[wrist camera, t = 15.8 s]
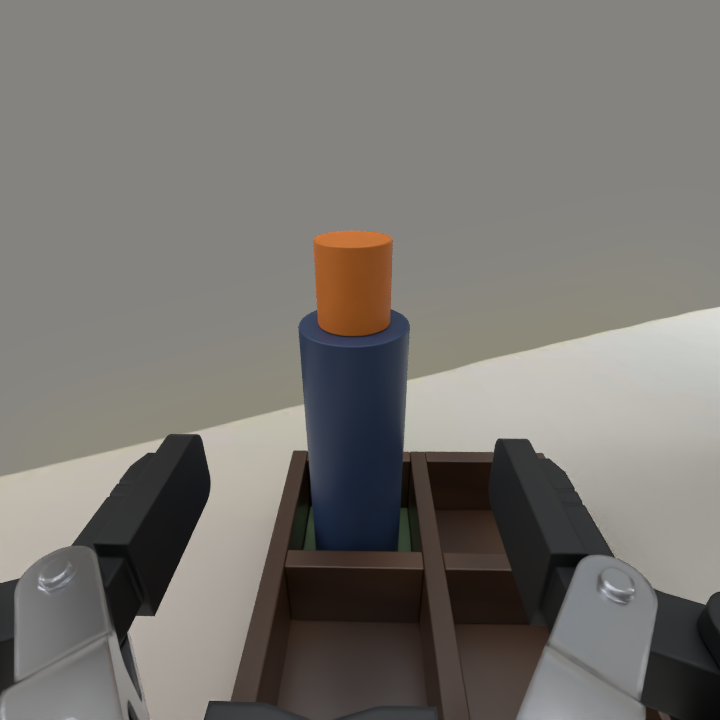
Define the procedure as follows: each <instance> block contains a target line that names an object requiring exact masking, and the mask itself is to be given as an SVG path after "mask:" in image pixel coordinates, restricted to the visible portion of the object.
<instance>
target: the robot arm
mask: <svg viewBox="0 0 720 720" xmlns="http://www.w3.org/2000/svg"><path fill="white" fill-rule="evenodd" d="M574 489H575V488H574V487H573V485H572V483H571V482H570V480H569V478H568V476H567V475H566V473H565V472H564V471H563V470H562V469H561V468H559V467H558V466H557V465H556V464H555V463H554V462H552V461H551V460H550V459H539V458H538V456H537V454H536V453H535V451H534V449H533V447H532V445H531V443H530V441H529V440H527V439H498V440H497V441H496V444H495V449H494V455H493V461H492V466H491V472H490V478H489V486H488V491H489V501H490V505H491V509H492V512H493V515H494V518H495V521H496V524H497V527H498V530H499V533H500V536H501V539H502V542H503V545H504V548H505V551H506V555H507V558H508V561H509V564H510V567H511V570H512V573H513V576H514V579H515V582H516V585H517V588H518V591H519V594H520V597H521V600H522V604H523V607H524V610H525V613H526V616H527V619H528V622H529V625H530V626H547V628H548V631H549V634H550V637H549V639H548V641H547V642H546V644H545V647H544V649H543V651H542V654H541V656H540V659H539V661H538V664H537V667H536V669H535V672H534V674H533V677H532V679H531V682H530V684H529V687H528V689H527V692H526V695H525V697H524V700H523V702H522V705H521V707H520V710H519V712H518V715H517V718H516V720H645V718H646V706H647V707H649V708H652V709H655V710H657V711H660V712H663V713H665V714H668V715H669V717H670V719H671V720H720V592H717V593H715V594H713V595H712V596H711V597H710V599H709V600H708V602H707V604H706V605H704V604H700V603H697V602H694V601H690V600H687V599H683V598H680V597H677V596H673V595H670V594H666V593H663V592H660V591H658V590H655V589H653V588H652V586H651V584H650V583H649V582H648V580H647V579H646V578H645V577H644V576H643V575H642V574H641V573H640V572H638V571H637V570H636V569H635V568H633V567H632V566H630V565H629V564H627V563H625V562H623V561H621V560H619V559H616V558H615V557H614V555H613V553H612V552H611V550H610V548H609V546H608V545H607V543H606V541H605V540H604V538H603V536H602V534H601V533H600V531H599V529H598V528H597V526H596V524H595V522H594V521H593V519H592V517H591V516H590V514H589V512H588V511H587V509H586V507H585V505H583V504H582V500H581V499H580V497H579V495H578V493H577V492H575V490H574ZM209 493H210V474H209V470H208V465H207V460H206V456H205V451H204V446H203V442H202V439H201V437H200V435H198V434H170V435H168V436H167V437H166V438H165V440H164V441H163V443H162V444H161V446H160V447H159V449H158V450H157V451H156V453H147V454H146V455H145V456H143V457H142V458H141V459H139V460H138V461H137V462H135V463H134V464H133V465H131V466H130V468H129V469H128V470H127V472H126V473H125V474H124V476H123V477H122V478H121V480H120V483H119V484H117V485H116V486H115V488H114V489H113V490H112V492H111V493H110V497H107V498H106V500H105V501H104V503H103V504H102V505H101V507H100V508H99V509H98V511H97V512H96V513H95V515H94V516H93V517H92V519H91V520H90V521H89V523H88V524H87V525H86V527H85V528H84V529H83V531H82V532H81V533H80V535H79V536H78V537H77V539H76V540H75V541H74V543H73V544H72V545H71V546H70V547H65V548H62V549H59V550H56V551H54V552H52V553H50V554H48V555H46V556H44V557H43V558H41V559H40V560H38V561H37V562H35V563H34V564H33V565H32V566H31V567H30V568H29V569H28V570H27V571H26V572H25V573H24V574H23V575H22V577H21V578H19V579H16V580H12V581H8V582H4V583H0V720H150V717H149V713H148V709H147V705H146V701H145V697H144V692H143V688H142V684H141V679H140V675H139V671H138V667H137V662H136V658H135V654H134V650H133V645H132V641H131V637H130V634H129V632H128V630H129V628H130V626H131V624H132V622H133V620H134V618H135V616H155V614H156V612H157V610H158V607H159V605H160V603H161V601H162V599H163V597H164V594H165V592H166V590H167V588H168V586H169V583H170V581H171V579H172V577H173V575H174V573H175V570H176V568H177V566H178V564H179V562H180V559H181V557H182V555H183V553H184V551H185V549H186V546H187V544H188V542H189V540H190V538H191V535H192V533H193V531H194V529H195V527H196V524H197V522H198V520H199V518H200V516H201V514H202V511H203V509H204V507H205V505H206V503H207V500H208V497H209ZM204 720H312V719H309V718H306V717H303V716H301V715H298V714H295V713H292V712H290V711H287V710H284V709H281V708H279V707H276V706H273V705H270V704H268V703H265V702H230V701H209V704H208V707H207V711H206V714H205V717H204ZM332 720H438V714H437V707H421V706H383V705H380V706H377V707H373V708H370V709H366V710H363V711H359V712H356V713H353V714H349V715H346V716H342V717H339V718H335V719H332Z"/></svg>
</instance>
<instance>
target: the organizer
mask: <svg viewBox="0 0 720 720" xmlns="http://www.w3.org/2000/svg"><path fill="white" fill-rule="evenodd" d="M536 454H537V456H538V458H539V459H546V458H545V456H544V455H543V453H536ZM493 455H494V452H410V453H409V452H403V466H402V486H401V505H400V524H399V544H398V552H385V551H323V550H316V546H315V533H314V521H313V508H312V495H311V482H310V469H309V456H308V451H293V454H292V458H291V462H290V466H289V470H288V474H287V478H286V482H285V486H284V490H283V494H282V498H281V502H280V506H279V510H278V514H277V518H276V522H275V526H274V530H273V534H272V538H271V542H270V546H269V550H268V554H267V558H266V562H265V566H264V570H263V574H262V578H261V582H260V586H259V590H258V594H257V598H256V602H255V606H254V610H253V614H252V618H251V622H250V626H249V630H248V634H247V638H246V642H245V646H244V650H243V654H242V658H241V662H240V666H239V669H238V673H237V677H236V681H235V685H234V689H233V693H232V697H231V701H230V702H265V703H268V704H270V705H273V706H276V707H279V708H281V709H284V710H287V711H290V712H292V713H295V714H298V715H301V716H303V717H306V718H309V719H312V720H332V719H335V718H339V717H342V716H346V715H349V714H353V713H356V712H359V711H363V710H366V709H370V708H373V707H377V706H380V705H383V706H421V707H437V714H438V720H516V718H517V715H518V712H519V710H520V707H521V705H522V702H523V700H524V697H525V695H526V692H527V689H528V687H529V684H530V682H531V679H532V677H533V674H534V672H535V669H536V667H537V664H538V661H539V659H540V656H541V654H542V651H543V649H544V647H545V644H546V642H547V641H548V639H549V637H550V634H549V631H548V628H547V626H530V625H529V622H528V619H527V616H526V613H525V610H524V607H523V604H522V600H521V597H520V594H519V591H518V588H517V585H516V582H515V579H514V576H513V573H512V570H511V567H510V564H509V561H508V558H507V555H506V551H505V548H504V545H503V542H502V539H501V536H500V533H499V530H498V527H497V524H496V521H495V518H494V515H493V512H492V509H491V505H490V501H489V491H488V486H489V478H490V472H491V466H492V461H493ZM645 720H671V719H670V717H669V715H668V714H665V713H663V712H660V711H657V710H655V709H652V708H649V707H647V706H646V718H645Z"/></svg>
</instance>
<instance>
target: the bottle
mask: <svg viewBox="0 0 720 720" xmlns="http://www.w3.org/2000/svg"><path fill="white" fill-rule="evenodd" d="M392 242H393V240H392V238H391V237H390V236H388V235H386V234H383V233H378V232H370V231H340V232H332V233H325V234H322V235H319V236H317V237H315V238H314V259H315V278H316V294H317V295H316V297H317V310H316V311H314V312H312V313H310V314H308V315H306V316H305V317H304V318H303V319H302V320H301V322H300V323H299V327H298V328H299V339H300V353H301V366H302V379H303V392H304V405H305V418H306V431H307V443H308V456H309V469H310V482H311V495H312V508H313V521H314V533H315V546H316V550H323V551H385V552H398V544H399V524H400V505H401V486H402V466H403V447H404V428H405V408H406V389H407V370H408V350H409V331H410V325H409V322H408V320H407V319H406V318H405V317H404V316H403V315H402V314H400V313H398V312H396V311H394V310H391V277H392Z"/></svg>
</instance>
